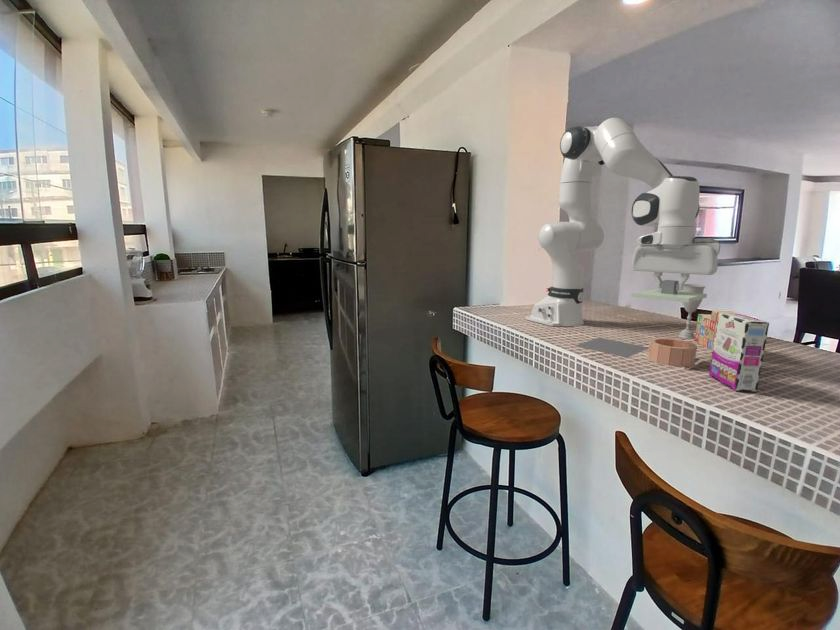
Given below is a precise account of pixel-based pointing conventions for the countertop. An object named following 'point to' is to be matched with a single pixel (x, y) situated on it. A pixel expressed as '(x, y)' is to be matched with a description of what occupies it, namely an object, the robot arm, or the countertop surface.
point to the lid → (669, 293)
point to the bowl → (672, 352)
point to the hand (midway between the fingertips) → (669, 289)
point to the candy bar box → (738, 351)
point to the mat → (612, 347)
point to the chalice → (691, 308)
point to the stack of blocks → (709, 327)
